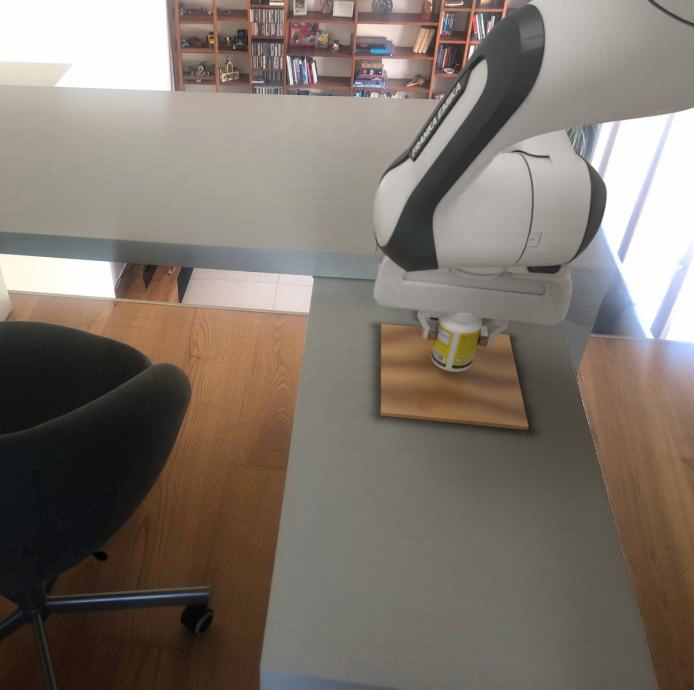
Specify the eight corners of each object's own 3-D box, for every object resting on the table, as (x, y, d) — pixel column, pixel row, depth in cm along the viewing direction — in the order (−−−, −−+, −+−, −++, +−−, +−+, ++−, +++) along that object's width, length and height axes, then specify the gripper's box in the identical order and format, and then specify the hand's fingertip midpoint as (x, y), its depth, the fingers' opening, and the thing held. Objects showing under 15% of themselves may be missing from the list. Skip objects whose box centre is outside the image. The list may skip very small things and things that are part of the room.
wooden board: (527, 430, 76) (528, 426, 76) (380, 415, 79) (381, 411, 78) (507, 337, 88) (509, 334, 88) (380, 327, 91) (381, 323, 90)
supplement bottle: (475, 352, 83) (490, 296, 77) (467, 377, 79) (483, 320, 74) (435, 342, 84) (447, 286, 79) (426, 366, 81) (438, 309, 76)
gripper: (376, 242, 70) (363, 345, 79) (591, 264, 67) (551, 369, 76) (380, 212, 75) (367, 312, 84) (581, 230, 71) (545, 333, 80)
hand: (456, 339), depth 80 cm, fingers closed on supplement bottle, 5 cm apart
